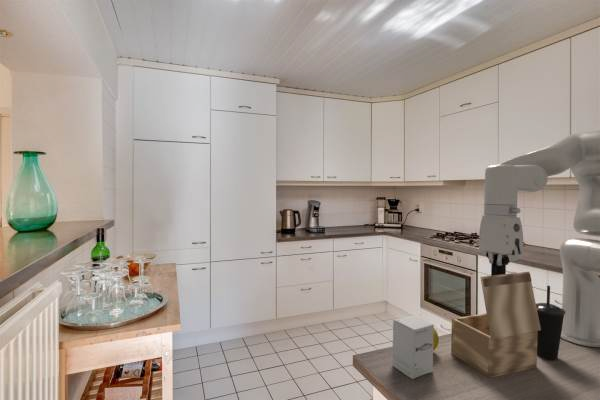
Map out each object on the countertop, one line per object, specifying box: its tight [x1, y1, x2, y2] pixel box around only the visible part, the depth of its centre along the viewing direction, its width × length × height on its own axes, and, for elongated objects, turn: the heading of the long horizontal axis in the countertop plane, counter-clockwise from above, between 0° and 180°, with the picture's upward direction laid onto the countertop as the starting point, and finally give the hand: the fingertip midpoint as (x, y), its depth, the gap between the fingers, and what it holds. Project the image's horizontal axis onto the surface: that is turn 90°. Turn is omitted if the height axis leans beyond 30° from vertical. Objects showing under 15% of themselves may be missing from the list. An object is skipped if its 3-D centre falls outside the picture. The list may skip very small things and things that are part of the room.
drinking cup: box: [536, 285, 566, 361], centre depth 91 cm, size 8×8×20 cm
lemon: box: [433, 328, 440, 351], centre depth 93 cm, size 6×6×8 cm
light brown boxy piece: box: [450, 313, 538, 379], centre depth 89 cm, size 16×13×10 cm
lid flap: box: [480, 271, 541, 339], centre depth 84 cm, size 17×15×1 cm
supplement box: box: [391, 315, 435, 380], centre depth 84 cm, size 7×7×13 cm
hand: (498, 278), depth 87 cm, fingers closed
